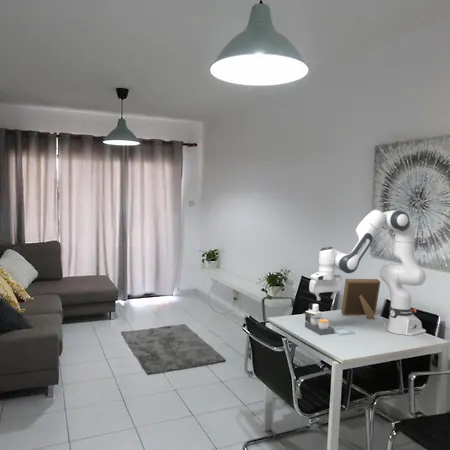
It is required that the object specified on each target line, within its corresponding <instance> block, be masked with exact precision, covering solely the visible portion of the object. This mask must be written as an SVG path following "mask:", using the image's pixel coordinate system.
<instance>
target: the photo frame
mask: <svg viewBox="0 0 450 450" xmlns="http://www.w3.org/2000/svg"><path fill="white" fill-rule="evenodd" d="M344 282H345V283H344V289H343V296H342V303H341V312H340V313H341V314H342V315H343V316H360V315H366V316H365V317H366V319H367V320H371V319H373V321H375V316H376V313H377V307H378V306H377V305H378V300H379V292H380V287H381V281H380V280H379V279H378V278H345V281H344ZM374 315H375V316H374Z"/></svg>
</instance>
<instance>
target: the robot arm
mask: <svg viewBox="0 0 450 450" xmlns="http://www.w3.org/2000/svg"><path fill="white" fill-rule="evenodd" d="M381 229H385V230H392V231H393V233H394V238H393V251H392V252H393V256H395V257H396V258H397V259H399V260H400V261H401V264H402V265H401V264H394V263H393V264H392V263H391V264H389V263H388V264H387V263H386V264H383V265H382V266H381V267H380V269H379V277H380V279H381V280H382V281H383V282H384V283H385V284H386V286H387V288H388V291H389V293H390V306H389V315H388V322H387V327H386V331H388V332H390V333H392V334H397V335H405V336H410V337H411V336H416V335H420V334H424V333H426V332H427V330H426V329H425V328H423V325H422V324H423V323H422V321H421V320H420V319H419V318H418V317H417V316H416V315H414V313H417V309H416V308H412V296H411V294H410V292H409V291H408V290H406V289H405V288H404V287H403V286H404V285H406V286H412V287H417V286H418V287H419V286H422V285H424V283H425V282H426V278H427V276H426V275H427V274H426V272H425V271H424V269H423V268H421V266H420V265H419V264H418V262H417V260H416V256H415V239H416V238H415V237H416V236H415V228H414V226H413V224H411V221H410V217H409V215H408V213H406V212H405V211H404V210H396V209H395V210H393V209H392V210H385V211H381V210H380V209H379V210H378V209H372V210H371V211H370V212H369V213H368V214H367V215H365V217H363V219H362V220H361V221H360V222H359V223H358V224H357V227H356V228H355V235H356V236H357V238H358V242H356V244H355V246H354V247H353V249H352V250H351V252H349V253H344V252H342V251H339V250H337V249H335V248H334V247H332V246H324V247H322V248H320V249H319V253H318V271H317V272H314V273H313V274H310V276H309V277H310V280H309V286H308V290H309V291H308V292H310V293H312V294H314V295H315V297H316V301H321V300H322V299H321V298H322V297H321V296H319V295H320V293H321V294H322V293H332V294H331V295H330V299H331V300H335V299H336V295H337V293H338V292H341V291H342V290H343V276H342V275H340V274H335V270H339V271H341V272H343V273H345V274H352V273H355V272H356V270H357V269H358V267H359V265H360V262H361V261H362V258H363V257H364V256H365V254H366V252H367V251H368V249H369V248H370V246H371V245H372V243H373V241H374V240H373V239H374V238H375V236H376V235H377V234H378V233H379V231H380V230H381Z"/></svg>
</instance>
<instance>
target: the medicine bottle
mask: <svg viewBox="0 0 450 450" xmlns="http://www.w3.org/2000/svg"><path fill="white" fill-rule="evenodd" d="M319 306H320V305H319V304H318V303H316V302H315V303H314V302H310V303H308V310H305V315H304V317H305V322H310V321H311V316H315V315H317V316H319V317H321V318H320V319H322V314H323V313H322V311H320V310H319V309H320V308H319Z"/></svg>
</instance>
